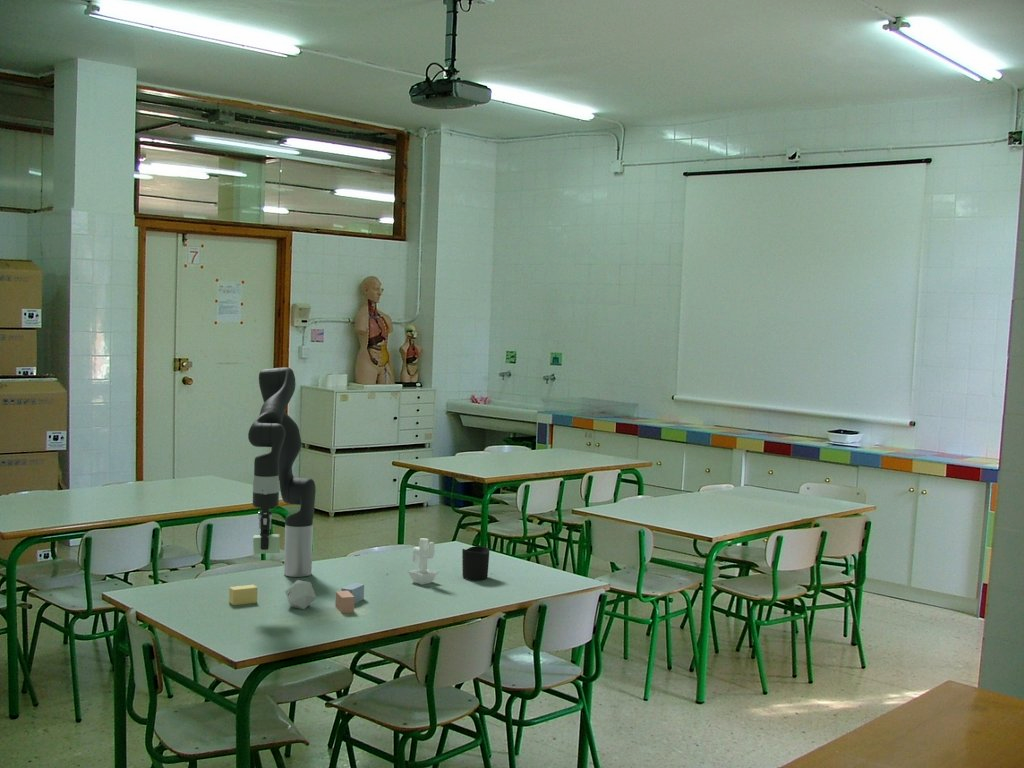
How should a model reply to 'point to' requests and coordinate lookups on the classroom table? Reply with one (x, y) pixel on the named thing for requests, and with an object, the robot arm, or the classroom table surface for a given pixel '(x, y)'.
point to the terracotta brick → (344, 601)
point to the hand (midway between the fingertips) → (264, 547)
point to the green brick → (273, 544)
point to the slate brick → (355, 591)
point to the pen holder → (475, 563)
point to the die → (300, 594)
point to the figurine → (423, 562)
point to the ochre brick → (243, 594)
